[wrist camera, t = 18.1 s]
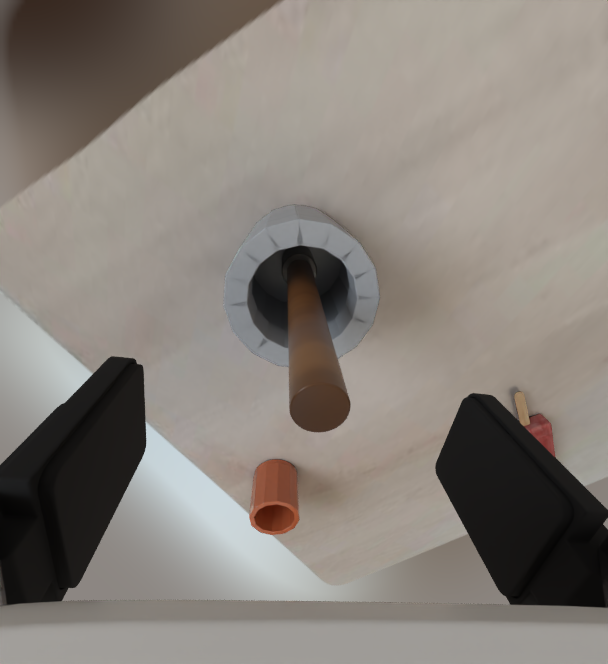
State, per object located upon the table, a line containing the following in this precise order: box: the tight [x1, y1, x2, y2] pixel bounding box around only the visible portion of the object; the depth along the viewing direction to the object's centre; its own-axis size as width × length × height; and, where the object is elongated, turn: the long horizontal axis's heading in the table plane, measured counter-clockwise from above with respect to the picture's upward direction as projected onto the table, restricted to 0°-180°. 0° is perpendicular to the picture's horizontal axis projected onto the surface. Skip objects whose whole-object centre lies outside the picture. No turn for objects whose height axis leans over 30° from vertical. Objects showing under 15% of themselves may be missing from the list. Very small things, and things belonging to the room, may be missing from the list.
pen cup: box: [249, 459, 299, 535], centre depth 36 cm, size 5×5×6 cm
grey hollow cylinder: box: [223, 205, 380, 367], centre depth 23 cm, size 9×9×11 cm
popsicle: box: [514, 391, 555, 457], centre depth 37 cm, size 4×2×15 cm
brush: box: [282, 245, 350, 432], centre depth 19 cm, size 3×3×20 cm
